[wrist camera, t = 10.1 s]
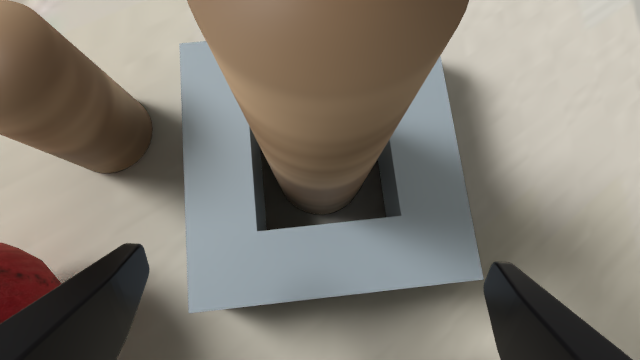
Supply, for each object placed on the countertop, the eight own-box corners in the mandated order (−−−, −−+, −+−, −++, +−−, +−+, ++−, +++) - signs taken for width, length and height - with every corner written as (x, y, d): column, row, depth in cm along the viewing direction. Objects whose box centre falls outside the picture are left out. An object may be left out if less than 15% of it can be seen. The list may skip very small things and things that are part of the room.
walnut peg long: (366, 209, 17) (500, 77, 5) (282, 218, 17) (187, 108, 5) (356, 129, 18) (445, -166, 6) (275, 137, 18) (177, -145, 5)
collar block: (454, 276, 17) (483, 279, 14) (211, 303, 17) (188, 313, 14) (415, 56, 19) (433, 20, 16) (200, 77, 19) (179, 43, 16)
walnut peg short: (152, 168, 18) (50, 112, 11) (68, 177, 18) (-89, 125, 11) (151, 91, 19) (55, -6, 12) (71, 99, 19) (-73, 6, 12)
